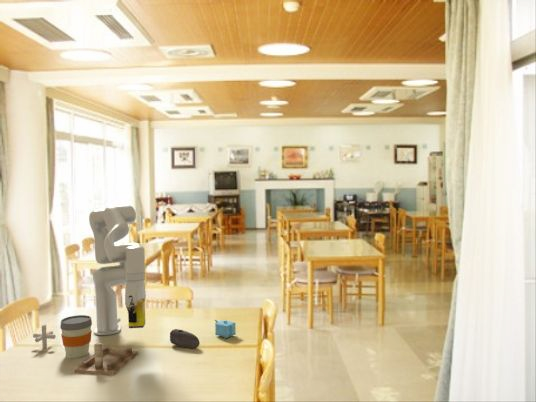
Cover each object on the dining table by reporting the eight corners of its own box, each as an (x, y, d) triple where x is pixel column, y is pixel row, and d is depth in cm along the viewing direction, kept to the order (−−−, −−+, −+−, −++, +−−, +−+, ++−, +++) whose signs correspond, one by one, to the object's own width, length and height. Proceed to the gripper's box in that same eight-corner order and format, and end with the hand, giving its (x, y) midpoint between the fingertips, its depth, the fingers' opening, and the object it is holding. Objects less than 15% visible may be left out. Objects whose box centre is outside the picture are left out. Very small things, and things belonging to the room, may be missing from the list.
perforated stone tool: (203, 347, 214) (202, 332, 214) (195, 351, 210) (194, 336, 209) (176, 342, 222) (176, 327, 221) (168, 345, 217) (168, 330, 217)
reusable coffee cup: (99, 350, 213) (98, 316, 212) (79, 361, 201) (77, 325, 200) (75, 347, 217) (74, 314, 216) (54, 357, 205) (53, 322, 204)
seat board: (103, 351, 211) (103, 328, 210) (138, 353, 208) (137, 330, 207) (74, 372, 189) (73, 346, 189) (113, 375, 186) (112, 349, 186)
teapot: (210, 335, 230) (209, 319, 230) (219, 331, 235) (218, 316, 235) (229, 340, 223) (228, 324, 222) (238, 336, 228) (237, 320, 227)
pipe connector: (47, 352, 211) (46, 329, 211) (27, 350, 213) (26, 328, 213) (61, 344, 221) (60, 322, 220) (42, 342, 223) (41, 321, 222)
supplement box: (130, 323, 203) (130, 297, 202) (145, 323, 203) (145, 297, 203) (128, 328, 197) (127, 301, 196) (143, 327, 197) (142, 301, 197)
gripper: (136, 271, 208) (137, 312, 209) (116, 281, 191) (118, 325, 192) (152, 272, 207) (153, 313, 208) (135, 281, 189) (136, 326, 191)
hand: (136, 319), depth 200 cm, fingers closed on supplement box, 7 cm apart
